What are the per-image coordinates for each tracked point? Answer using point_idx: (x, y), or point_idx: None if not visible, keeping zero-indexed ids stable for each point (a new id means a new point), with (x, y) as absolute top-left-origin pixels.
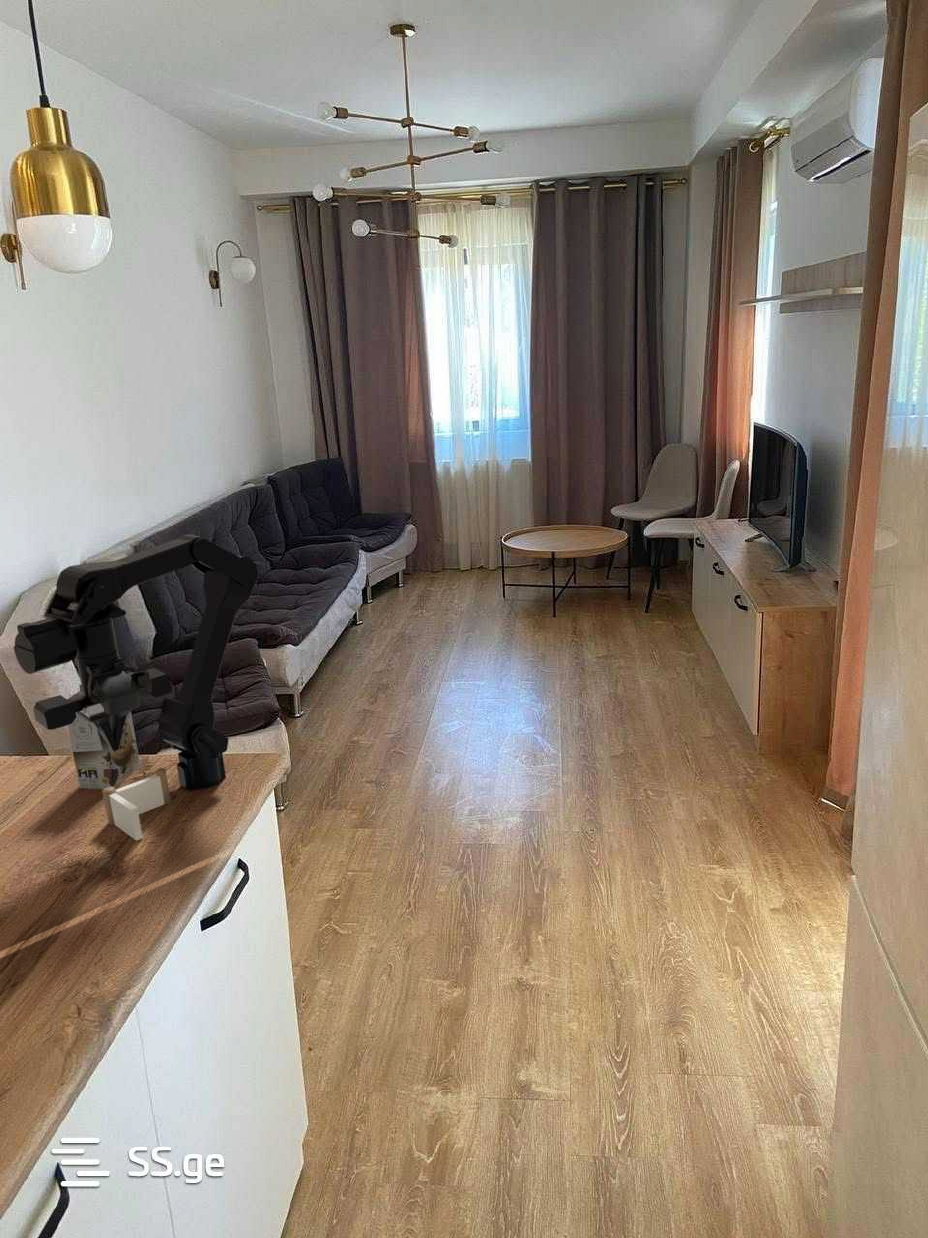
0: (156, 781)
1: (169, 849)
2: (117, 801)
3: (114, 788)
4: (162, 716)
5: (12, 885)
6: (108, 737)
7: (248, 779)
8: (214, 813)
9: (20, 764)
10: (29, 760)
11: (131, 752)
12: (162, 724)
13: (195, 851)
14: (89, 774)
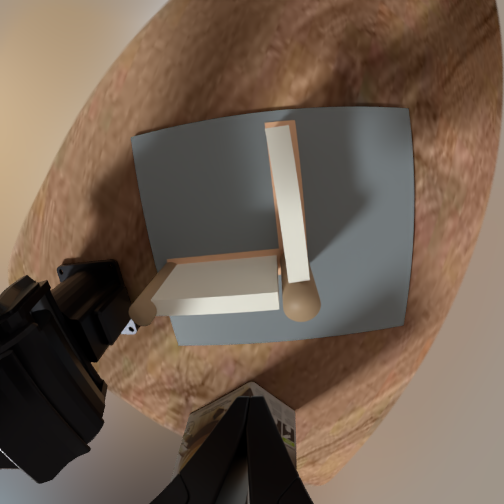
0: (164, 294)
1: (227, 71)
2: (303, 223)
3: (285, 301)
4: (67, 447)
5: (491, 177)
6: (281, 460)
7: (39, 259)
8: (102, 167)
9: (321, 479)
10: (309, 481)
11: (193, 438)
12: (79, 430)
13: (186, 34)
14: (279, 426)
